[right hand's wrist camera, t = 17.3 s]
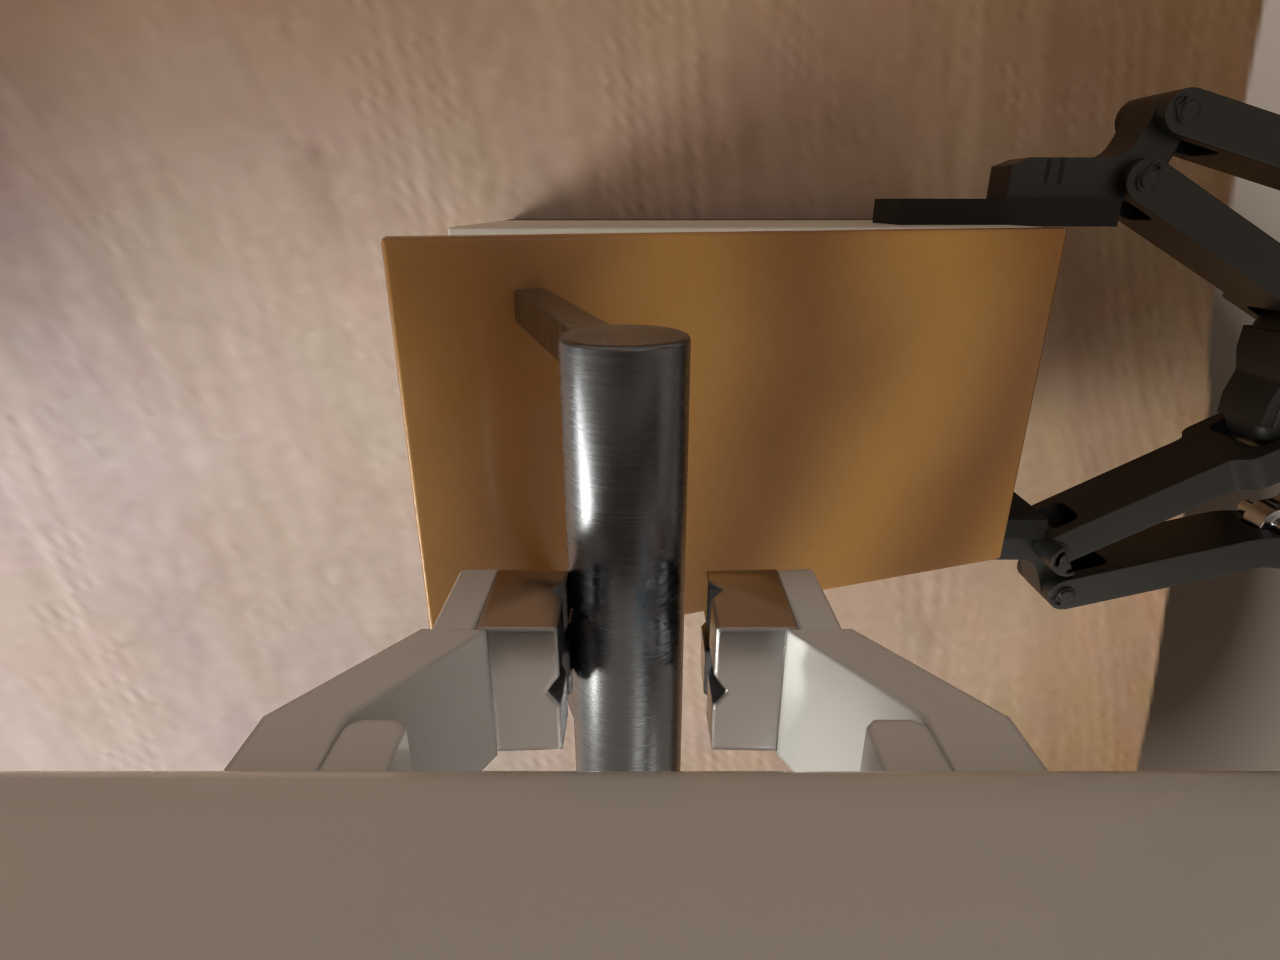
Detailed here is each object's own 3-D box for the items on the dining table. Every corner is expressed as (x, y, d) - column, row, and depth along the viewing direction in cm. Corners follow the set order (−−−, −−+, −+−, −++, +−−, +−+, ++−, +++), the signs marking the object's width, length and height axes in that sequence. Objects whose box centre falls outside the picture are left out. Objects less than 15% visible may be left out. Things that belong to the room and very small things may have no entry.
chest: (525, 447, 32) (476, 543, 23) (511, 219, 29) (446, 227, 20) (889, 448, 32) (984, 546, 23) (919, 219, 29) (1046, 226, 19)
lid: (431, 641, 18) (460, 956, 10) (381, 236, 14) (369, 271, 7) (980, 546, 23) (1269, 716, 15) (1042, 227, 19) (1456, 241, 12)
